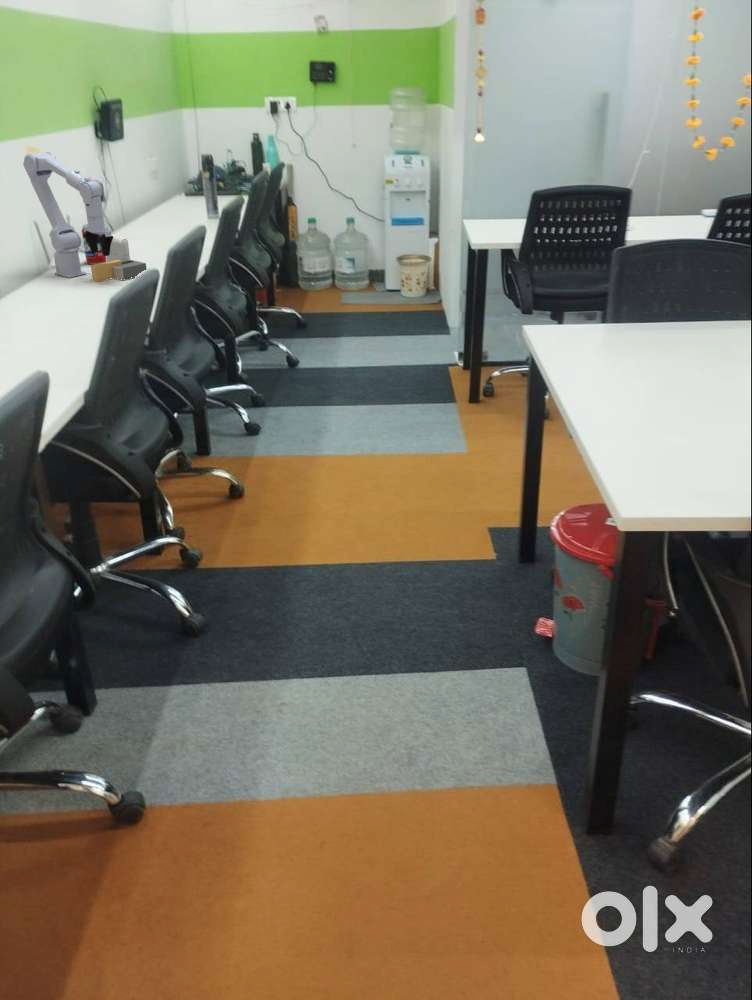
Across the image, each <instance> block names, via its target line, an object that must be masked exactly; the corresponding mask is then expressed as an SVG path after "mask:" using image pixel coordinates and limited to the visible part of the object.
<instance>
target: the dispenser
mask: <svg viewBox="0 0 752 1000" xmlns="http://www.w3.org/2000/svg"><path fill="white" fill-rule="evenodd" d="M118 260H120V261H121V262H122V265H118V266H113V271H114V279H115V278H118V279H122V280H123V281H125V280H124V279H128V280H130V279H129V278H131V277H132V279H135V278H134V277H135V276H137V275H138V274H139V273H141V272H142V271H144V270H146V269H147V263H146V262H141V261H137V260H133V259H130V260H129V259H125V258H123V259H118ZM113 261H114V260H113ZM108 262H109V261H108ZM103 263H104V262H103ZM99 264H100V263H99ZM147 270H148V269H147ZM118 279H117V280H118ZM122 280H121V281H122Z"/></svg>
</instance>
